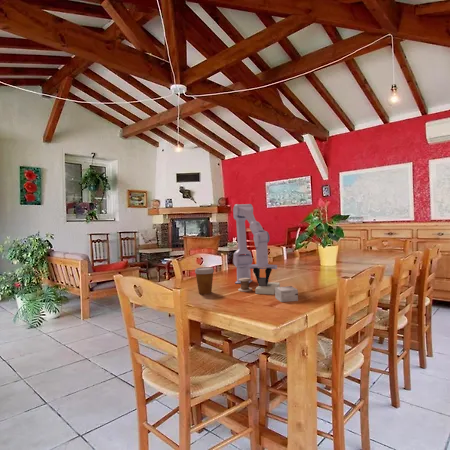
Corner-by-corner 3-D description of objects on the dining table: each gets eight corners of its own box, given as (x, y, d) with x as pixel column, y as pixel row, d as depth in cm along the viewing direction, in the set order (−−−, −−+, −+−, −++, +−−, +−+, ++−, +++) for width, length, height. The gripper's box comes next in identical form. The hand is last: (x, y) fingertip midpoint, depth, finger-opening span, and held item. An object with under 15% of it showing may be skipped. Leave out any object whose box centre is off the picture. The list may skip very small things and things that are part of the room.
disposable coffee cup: (217, 290, 167) (216, 267, 166) (211, 295, 157) (210, 270, 157) (199, 290, 169) (198, 267, 169) (192, 294, 160) (191, 269, 160)
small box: (281, 302, 140) (280, 290, 140) (275, 298, 148) (274, 286, 148) (298, 301, 141) (298, 289, 141) (291, 297, 149) (291, 285, 149)
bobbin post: (240, 288, 171) (239, 277, 171) (253, 288, 168) (253, 277, 168) (236, 291, 164) (236, 280, 164) (250, 291, 162) (249, 280, 162)
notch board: (262, 286, 173) (262, 282, 172) (279, 287, 170) (279, 282, 170) (255, 293, 157) (255, 288, 157) (274, 294, 154) (274, 289, 154)
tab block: (260, 287, 167) (260, 277, 167) (267, 287, 166) (267, 277, 166) (258, 288, 163) (258, 278, 163) (265, 289, 162) (265, 278, 162)
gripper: (245, 257, 163) (246, 284, 163) (275, 257, 158) (276, 285, 158) (249, 255, 169) (250, 281, 169) (277, 255, 165) (278, 282, 165)
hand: (262, 283), depth 164 cm, fingers closed on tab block, 3 cm apart
